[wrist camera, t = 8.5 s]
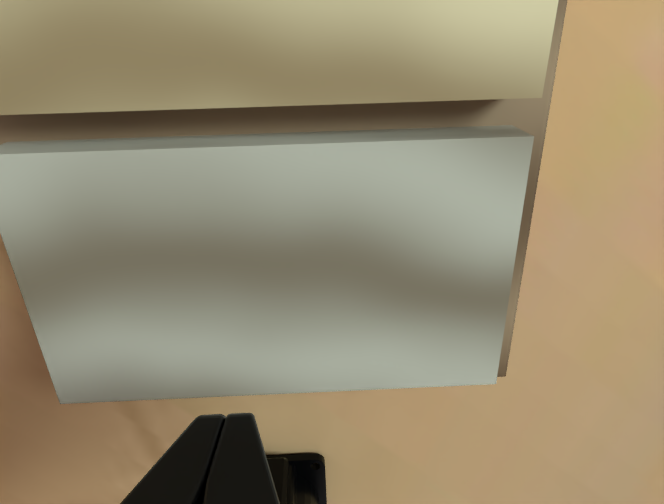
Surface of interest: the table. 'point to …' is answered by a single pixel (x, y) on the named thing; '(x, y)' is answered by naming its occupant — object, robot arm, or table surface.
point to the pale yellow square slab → (267, 53)
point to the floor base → (273, 243)
